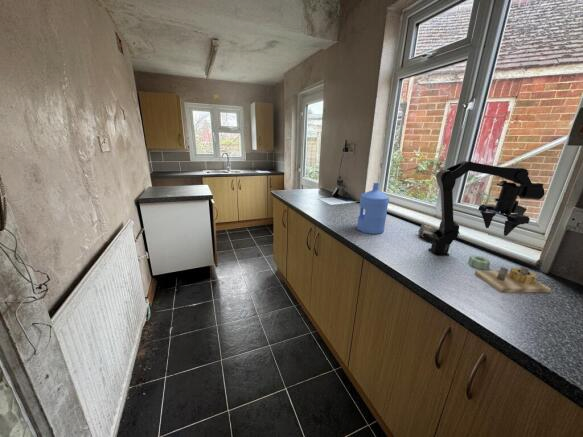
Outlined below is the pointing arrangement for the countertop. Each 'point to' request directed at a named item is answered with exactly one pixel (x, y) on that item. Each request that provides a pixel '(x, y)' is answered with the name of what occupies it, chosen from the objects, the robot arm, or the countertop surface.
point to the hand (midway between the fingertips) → (495, 231)
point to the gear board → (510, 281)
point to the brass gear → (522, 276)
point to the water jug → (373, 211)
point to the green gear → (479, 262)
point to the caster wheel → (427, 232)
